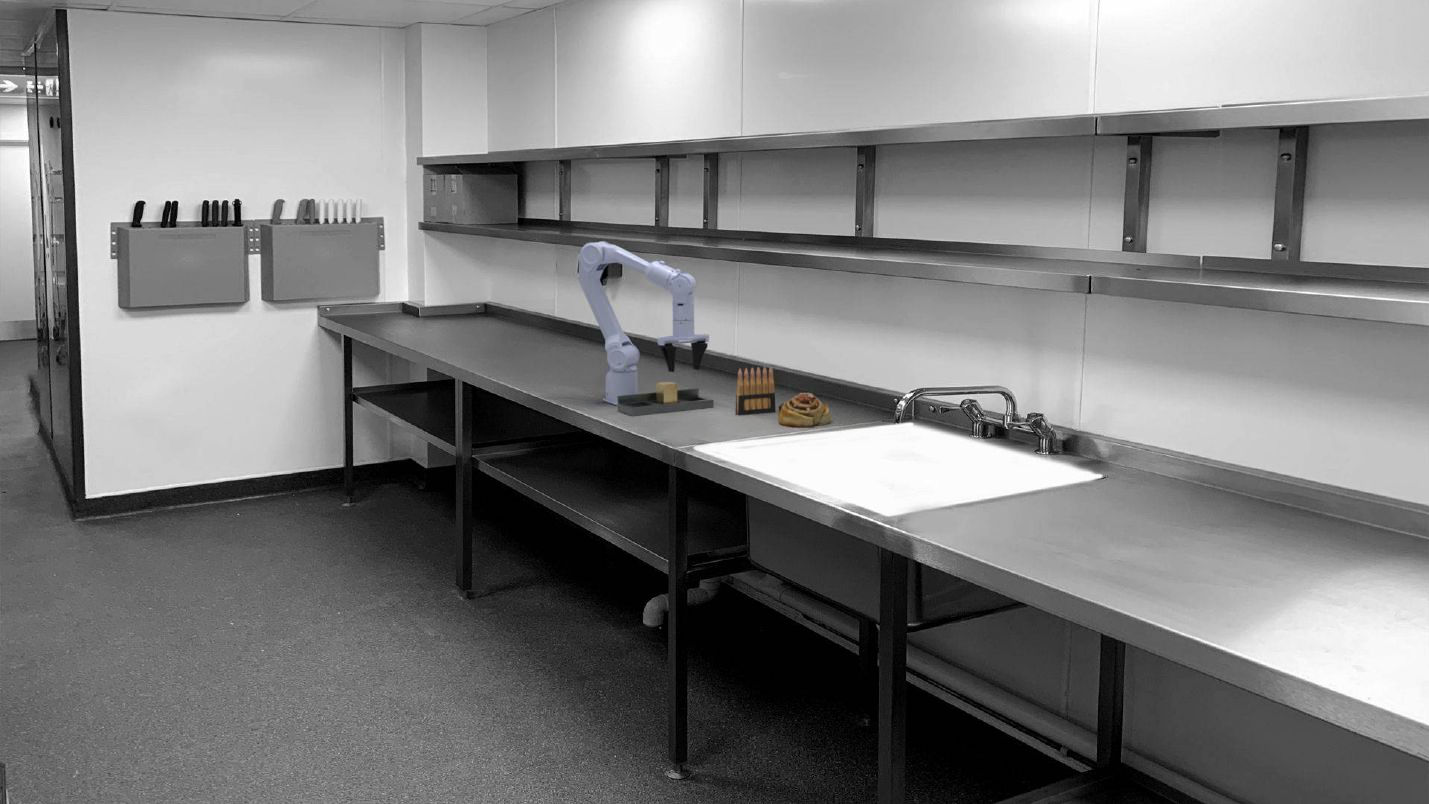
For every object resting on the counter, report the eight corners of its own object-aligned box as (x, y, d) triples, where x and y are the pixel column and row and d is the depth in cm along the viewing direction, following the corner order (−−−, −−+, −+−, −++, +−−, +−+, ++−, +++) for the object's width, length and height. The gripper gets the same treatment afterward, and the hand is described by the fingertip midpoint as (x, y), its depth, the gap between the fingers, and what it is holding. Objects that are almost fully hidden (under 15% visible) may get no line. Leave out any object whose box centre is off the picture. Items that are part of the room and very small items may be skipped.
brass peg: (656, 409, 317) (656, 382, 316) (670, 407, 319) (669, 381, 318) (663, 411, 313) (663, 384, 312) (677, 410, 315) (677, 383, 314)
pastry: (782, 429, 290) (782, 396, 289) (773, 417, 305) (773, 386, 304) (836, 427, 292) (837, 395, 290) (824, 416, 306) (825, 385, 305)
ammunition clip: (738, 415, 307) (738, 369, 305) (735, 414, 309) (735, 368, 307) (775, 412, 312) (775, 366, 309) (772, 411, 313) (772, 365, 311)
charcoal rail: (617, 410, 314) (617, 395, 314) (697, 402, 326) (697, 387, 325) (632, 416, 307) (632, 400, 306) (713, 407, 319) (713, 392, 318)
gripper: (666, 322, 311) (667, 374, 314) (714, 319, 319) (714, 370, 321) (653, 320, 317) (654, 371, 320) (701, 317, 325) (701, 366, 327)
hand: (683, 370), depth 321 cm, fingers open, 7 cm apart
